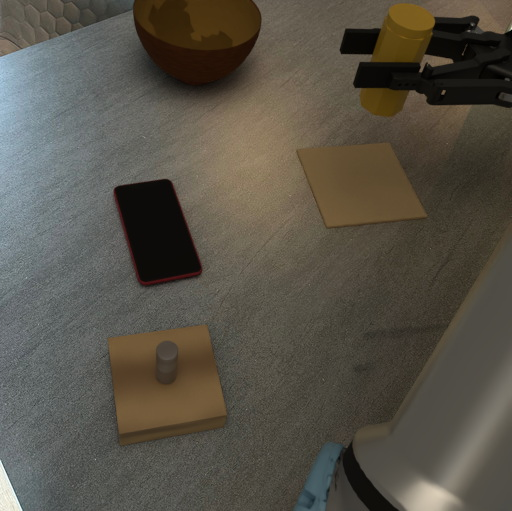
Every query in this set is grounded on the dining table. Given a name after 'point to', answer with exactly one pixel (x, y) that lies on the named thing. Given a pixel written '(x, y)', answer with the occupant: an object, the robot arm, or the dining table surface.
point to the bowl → (197, 36)
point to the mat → (359, 185)
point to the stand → (165, 384)
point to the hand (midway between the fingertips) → (350, 57)
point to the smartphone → (156, 232)
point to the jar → (398, 53)
